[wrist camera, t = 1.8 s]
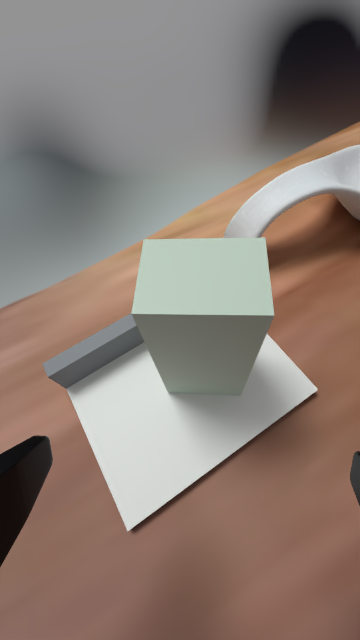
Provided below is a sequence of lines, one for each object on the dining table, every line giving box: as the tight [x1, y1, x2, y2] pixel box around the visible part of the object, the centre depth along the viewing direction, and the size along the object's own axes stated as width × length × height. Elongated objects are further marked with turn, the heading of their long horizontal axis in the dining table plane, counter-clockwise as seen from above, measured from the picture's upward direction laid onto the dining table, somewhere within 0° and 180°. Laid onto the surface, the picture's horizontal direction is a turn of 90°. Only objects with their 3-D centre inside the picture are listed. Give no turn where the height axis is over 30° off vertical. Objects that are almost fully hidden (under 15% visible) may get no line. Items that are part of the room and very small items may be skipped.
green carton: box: [132, 237, 274, 396], centre depth 17 cm, size 6×4×12 cm
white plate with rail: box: [43, 313, 318, 531], centre depth 21 cm, size 16×12×4 cm
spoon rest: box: [224, 145, 360, 238], centre depth 27 cm, size 24×12×7 cm, turn 113°
